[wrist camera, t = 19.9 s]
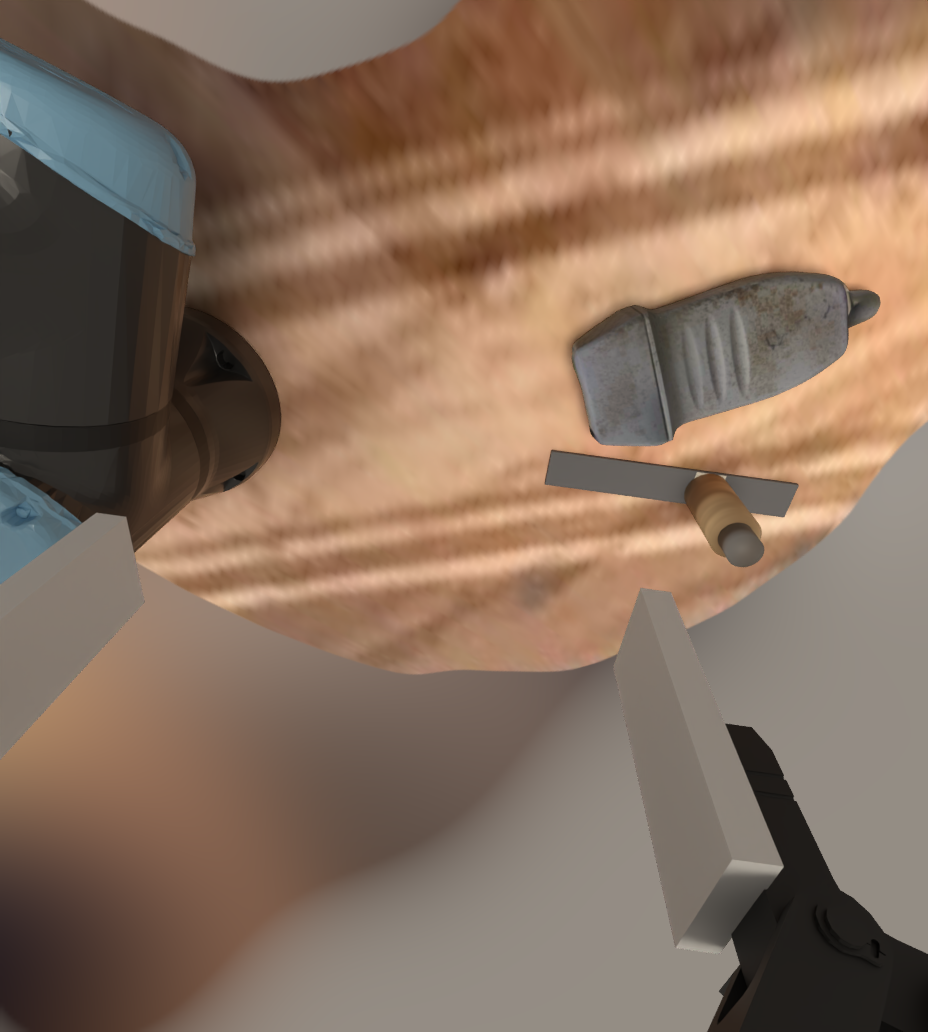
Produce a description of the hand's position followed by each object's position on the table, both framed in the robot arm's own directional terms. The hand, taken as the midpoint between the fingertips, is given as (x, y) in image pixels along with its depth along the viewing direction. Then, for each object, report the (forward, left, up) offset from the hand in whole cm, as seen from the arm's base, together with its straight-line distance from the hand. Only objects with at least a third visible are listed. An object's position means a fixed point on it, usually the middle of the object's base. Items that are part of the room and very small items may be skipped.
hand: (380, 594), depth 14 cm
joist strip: (+18, -9, -31) cm, 37 cm away
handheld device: (+18, +2, -32) cm, 36 cm away
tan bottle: (+21, -10, -31) cm, 38 cm away
